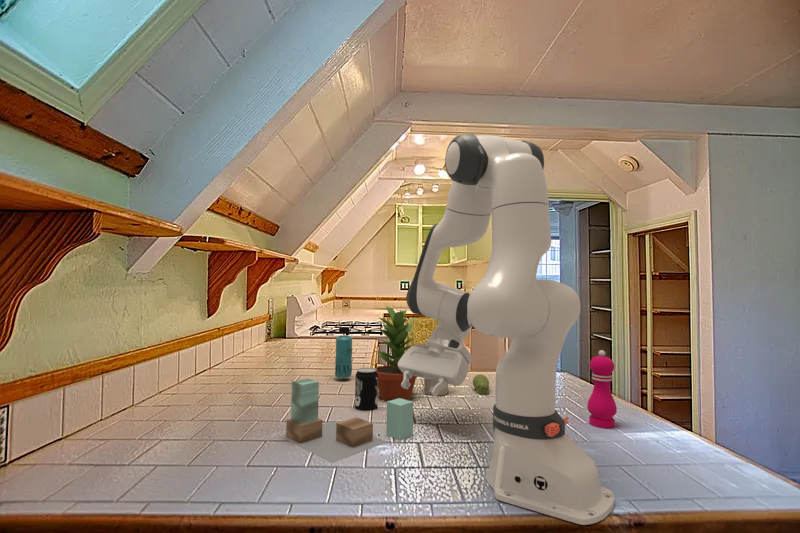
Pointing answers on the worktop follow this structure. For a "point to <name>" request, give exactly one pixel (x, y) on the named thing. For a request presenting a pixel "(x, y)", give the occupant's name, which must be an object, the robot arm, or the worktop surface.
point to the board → (333, 444)
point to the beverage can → (366, 389)
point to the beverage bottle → (343, 354)
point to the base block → (354, 432)
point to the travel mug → (429, 383)
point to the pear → (481, 384)
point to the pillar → (399, 418)
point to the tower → (304, 412)
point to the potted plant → (394, 358)
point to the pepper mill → (602, 393)
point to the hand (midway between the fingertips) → (417, 391)
